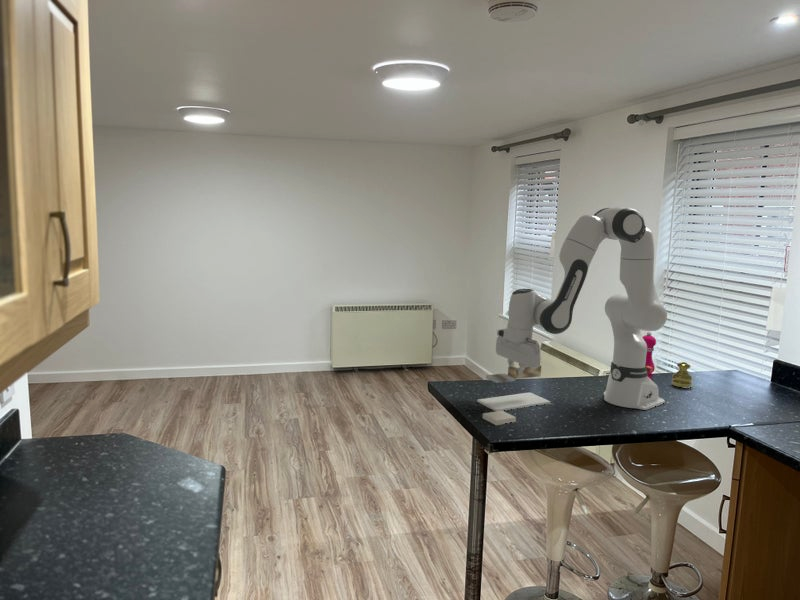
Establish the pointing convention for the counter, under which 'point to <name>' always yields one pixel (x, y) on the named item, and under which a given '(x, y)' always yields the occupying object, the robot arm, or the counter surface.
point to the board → (513, 401)
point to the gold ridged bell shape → (682, 376)
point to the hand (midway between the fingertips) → (515, 373)
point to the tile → (499, 417)
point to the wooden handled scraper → (512, 374)
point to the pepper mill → (649, 352)
